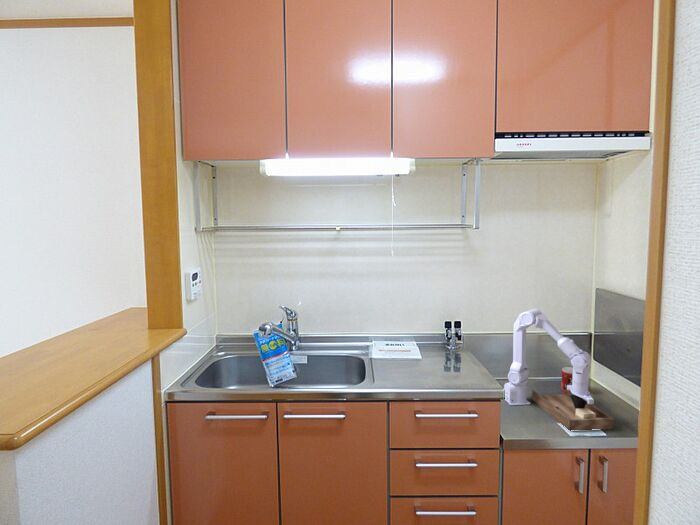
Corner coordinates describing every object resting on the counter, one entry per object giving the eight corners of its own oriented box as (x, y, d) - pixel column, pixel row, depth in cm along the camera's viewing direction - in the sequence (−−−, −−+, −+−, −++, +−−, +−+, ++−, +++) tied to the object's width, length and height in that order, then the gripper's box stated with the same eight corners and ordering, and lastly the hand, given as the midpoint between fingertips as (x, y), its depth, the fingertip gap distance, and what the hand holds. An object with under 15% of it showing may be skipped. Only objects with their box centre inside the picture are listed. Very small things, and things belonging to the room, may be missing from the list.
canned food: (562, 393, 193) (562, 371, 192) (560, 387, 200) (561, 366, 199) (580, 396, 190) (581, 373, 189) (577, 389, 197) (578, 367, 196)
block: (583, 423, 160) (583, 414, 159) (575, 417, 164) (575, 408, 164) (595, 423, 160) (595, 413, 159) (587, 417, 165) (587, 408, 164)
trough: (569, 431, 158) (570, 420, 157) (531, 399, 186) (532, 390, 186) (613, 429, 159) (613, 418, 158) (568, 398, 188) (569, 388, 187)
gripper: (601, 388, 158) (600, 421, 159) (578, 374, 172) (577, 405, 173) (584, 389, 157) (583, 422, 158) (562, 375, 172) (561, 405, 173)
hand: (579, 413), depth 166 cm, fingers closed
